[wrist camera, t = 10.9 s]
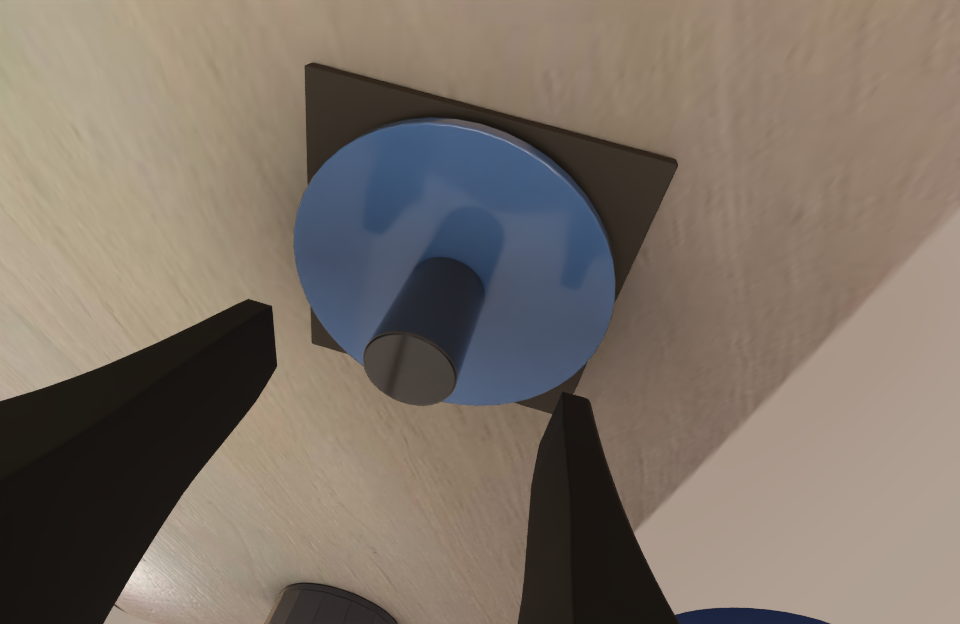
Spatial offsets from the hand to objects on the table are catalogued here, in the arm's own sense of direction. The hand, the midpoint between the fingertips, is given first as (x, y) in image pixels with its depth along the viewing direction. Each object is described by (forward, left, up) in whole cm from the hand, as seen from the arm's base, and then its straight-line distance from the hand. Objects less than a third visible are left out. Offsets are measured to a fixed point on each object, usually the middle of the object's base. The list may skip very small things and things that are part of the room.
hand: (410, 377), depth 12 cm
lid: (0, 0, -4) cm, 4 cm away
